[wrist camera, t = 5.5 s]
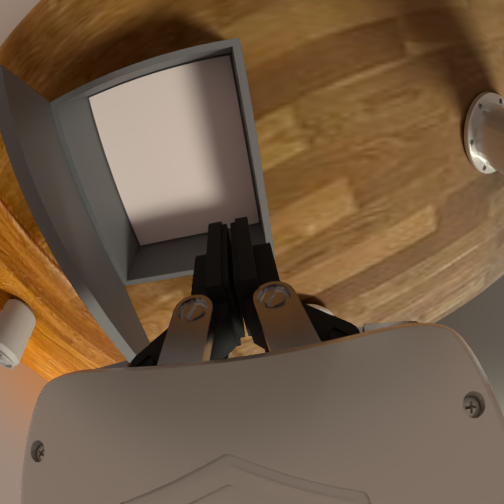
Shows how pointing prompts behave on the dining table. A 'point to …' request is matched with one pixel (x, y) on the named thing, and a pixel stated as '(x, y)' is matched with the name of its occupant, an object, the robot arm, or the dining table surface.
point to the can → (14, 331)
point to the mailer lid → (64, 212)
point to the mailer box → (166, 157)
